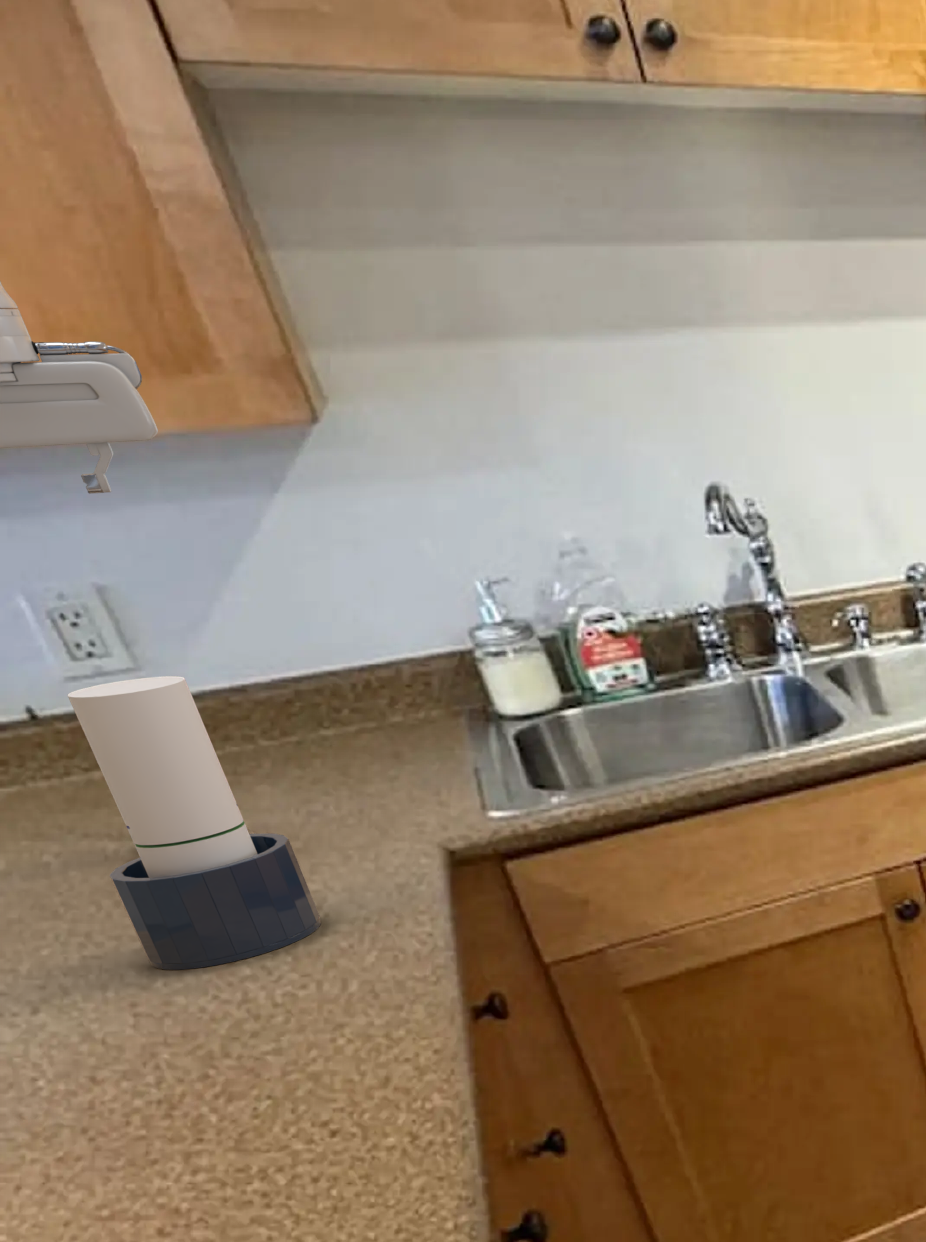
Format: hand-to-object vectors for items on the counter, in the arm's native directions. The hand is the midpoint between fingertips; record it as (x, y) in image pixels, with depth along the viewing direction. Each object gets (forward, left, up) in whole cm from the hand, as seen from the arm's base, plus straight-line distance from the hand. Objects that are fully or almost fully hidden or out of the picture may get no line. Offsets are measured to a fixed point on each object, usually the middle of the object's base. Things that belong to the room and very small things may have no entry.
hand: (25, 498), depth 124 cm
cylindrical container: (+16, -12, -41) cm, 45 cm away
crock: (+16, -12, -41) cm, 46 cm away
